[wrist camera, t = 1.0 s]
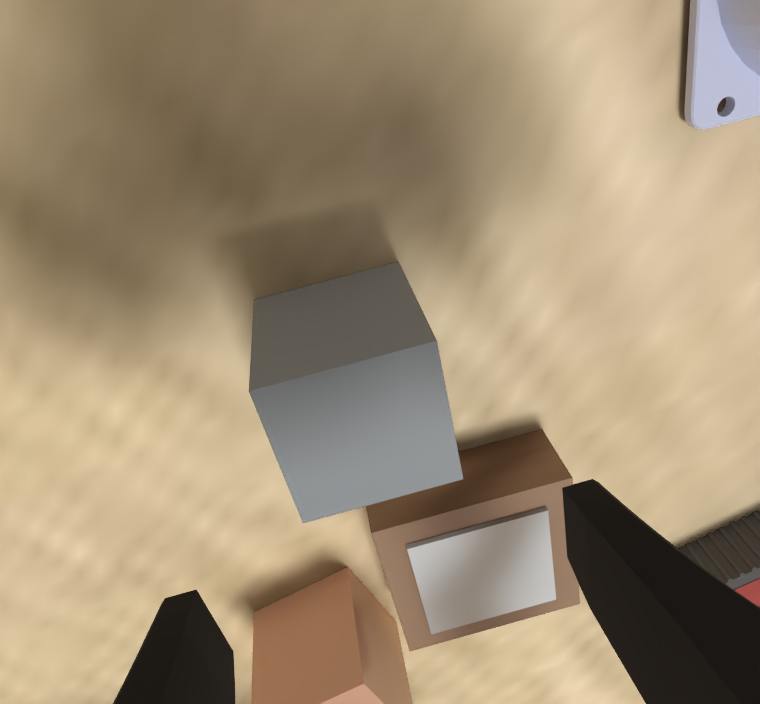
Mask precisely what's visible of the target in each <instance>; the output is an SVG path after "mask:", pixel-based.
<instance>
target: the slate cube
mask: <svg viewBox="0 0 760 704" xmlns="http://www.w3.org/2000/svg"><path fill="white" fill-rule="evenodd" d="M249 393H250V395H251V398H252V400H253V402H254V405H255V407H256V410H257V412H258V415H259V417H260V420H261V422H262V424H263V427H264V429H265V432H266V434H267V437H268V439H269V441H270V444H271V446H272V449H273V451H274V454H275V456H276V459H277V461H278V463H279V466H280V468H281V471H282V473H283V476H284V478H285V481H286V483H287V485H288V488H289V490H290V493H291V495H292V498H293V500H294V503H295V505H296V507H297V510H298V512H299V515H300V517H301V520H302V522H303V523H306V522H309V521H313V520H317V519H320V518H324V517H328V516H331V515H335V514H338V513H342V512H346V511H349V510H353V509H357V508H360V507H364V506H368V505H371V504H375V503H378V502H382V501H386V500H389V499H393V498H397V497H400V496H404V495H408V494H411V493H415V492H419V491H422V490H426V489H429V488H433V487H437V486H440V485H444V484H448V483H451V482H455V481H459V480H462V479H463V474H462V469H461V464H460V459H459V454H458V448H457V443H456V438H455V433H454V428H453V422H452V417H451V412H450V407H449V402H448V397H447V391H446V386H445V381H444V376H443V371H442V365H441V360H440V355H439V350H438V345H437V340H436V338H435V336H434V334H433V332H432V330H431V328H430V326H429V324H428V322H427V320H426V317H425V315H424V313H423V311H422V309H421V307H420V305H419V303H418V301H417V299H416V297H415V295H414V293H413V291H412V289H411V286H410V284H409V282H408V280H407V278H406V276H405V274H404V272H403V270H402V268H401V266H400V264H399V262H395V263H391V264H387V265H384V266H380V267H376V268H372V269H369V270H365V271H361V272H357V273H354V274H350V275H346V276H342V277H339V278H335V279H331V280H327V281H324V282H320V283H316V284H312V285H309V286H305V287H301V288H297V289H294V290H290V291H286V292H282V293H279V294H275V295H271V296H267V297H263V298H260V299H256V300H254V311H253V328H252V346H251V363H250V381H249Z"/></svg>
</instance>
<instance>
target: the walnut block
mask: <svg viewBox="0 0 760 704" xmlns="http://www.w3.org/2000/svg"><path fill="white" fill-rule="evenodd" d="M458 454H459V459H460V464H461V469H462V474H463V479H462V480H459V481H455V482H451V483H448V484H444V485H440V486H437V487H433V488H429V489H426V490H422V491H419V492H415V493H411V494H408V495H404V496H400V497H397V498H393V499H389V500H386V501H382V502H378V503H375V504H371V505H368V506H366V507H367V512H368V518H369V523H370V528H371V534H372V537H373V540H374V543H375V546H376V549H377V552H378V555H379V558H380V561H381V564H382V567H383V570H384V573H385V576H386V580H387V583H388V586H389V589H390V592H391V595H392V598H393V601H394V604H395V607H396V610H397V613H398V616H399V619H400V622H401V626H402V629H403V632H404V635H405V638H406V641H407V644H408V647H409V650H410V651H413V650H417V649H420V648H424V647H427V646H431V645H434V644H438V643H442V642H445V641H449V640H452V639H456V638H459V637H463V636H466V635H470V634H474V633H477V632H481V631H484V630H488V629H491V628H495V627H499V626H502V625H506V624H509V623H513V622H516V621H520V620H524V619H527V618H531V617H534V616H538V615H541V614H545V613H549V612H552V611H556V610H559V609H563V608H566V607H570V606H574V605H577V604H580V598H579V583H578V580H577V578H576V576H575V574H574V571H573V569H572V567H571V565H570V562H569V560H568V558H567V547H566V533H565V520H564V506H563V493H562V488H563V487H566V486H570V485H573V479H572V476H571V475H570V473H569V472H568V470H567V468H566V467H565V465H564V464H563V462H562V460H561V459H560V457H559V456H558V454H557V452H556V451H555V449H554V448H553V446H552V444H551V443H550V441H549V440H548V438H547V436H546V435H545V433H544V432H543V430H542V429H541V430H537V431H534V432H530V433H526V434H523V435H519V436H515V437H512V438H508V439H505V440H501V441H497V442H494V443H490V444H486V445H483V446H479V447H475V448H472V449H468V450H464V451H461V452H458Z"/></svg>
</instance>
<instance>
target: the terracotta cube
mask: <svg viewBox="0 0 760 704" xmlns="http://www.w3.org/2000/svg"><path fill="white" fill-rule="evenodd" d="M251 704H413V703H412V698H411V693H410V688H409V683H408V678H407V673H406V668H405V663H404V658H403V653H402V648H401V643H400V638H399V633H398V628H397V623H396V621H395V620H394V619H393V618H392V616H391V615H390V614H389V613H388V612H387V611H386V610H385V608H384V607H383V606H382V605H381V604H380V603H379V602H378V600H377V599H376V598H375V597H374V596H373V595H372V594H371V592H370V591H369V590H368V589H367V588H366V587H365V586H364V584H363V583H362V582H361V581H360V580H359V579H358V578H357V577H356V575H355V574H354V573H353V572H352V571H351V570H350V569H349V567H346V568H344V569H342V570H340V571H338V572H336V573H334V574H332V575H330V576H328V577H326V578H324V579H322V580H320V581H317V582H315V583H313V584H311V585H309V586H307V587H305V588H303V589H301V590H299V591H297V592H295V593H293V594H291V595H289V596H287V597H285V598H283V599H280V600H278V601H276V602H274V603H272V604H270V605H268V606H266V607H264V608H262V609H260V610H258V611H256V612H254V631H253V666H252V701H251Z"/></svg>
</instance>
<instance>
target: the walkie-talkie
mask: <svg viewBox="0 0 760 704" xmlns="http://www.w3.org/2000/svg"><path fill="white" fill-rule="evenodd" d="M679 550H680V551H682V552H683V553H684V554H686V555H687V556H688V557H689V558H691V559H692V560H693V561H695V562H696V563H697V564H699V565H700V566H701V567H703V568H704V569H705V570H707V571H708V572H710V573H711V574H712V575H714V576H715V577H716V578H718V579H719V580H721V581H722V582H724V583H725V584H726V585H728V586H729V587H731V588H732V589H734V590H735V591H736V592H738V593H739V594H741V595H742V596H744V597H745V598H747V599H748V600H750V601H751V602H753V603H754V604H756V605H757V606H759V607H760V511H758V512H756V511H755V512H753V513H752V514H751V515H749V516H747V517H745V516H744V517H742V518H741V520H739V521H737V522H731V523H730V524H729V525H728V526H726V527H724V528H722V527H721V528H719V529H718V530H717V531H715V532H713V533H711V532H710V533H708V534H707V536H705V537H703V538H698V539H696V541H694V542H692V543H690V544H689V543H687V544H685V546H684V547H681V548H679Z"/></svg>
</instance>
